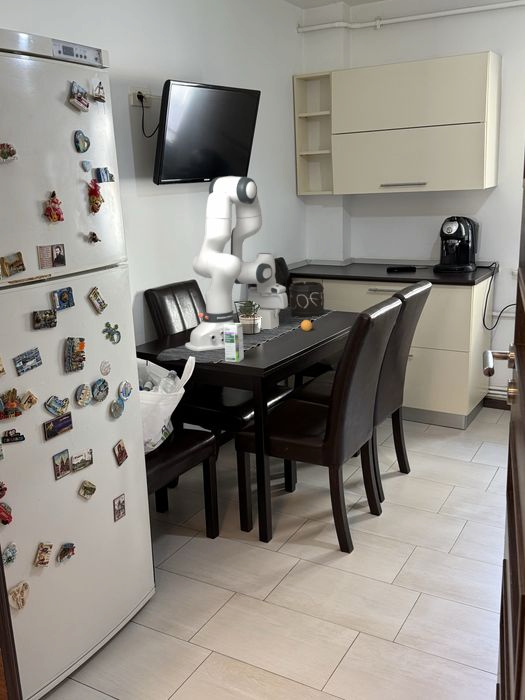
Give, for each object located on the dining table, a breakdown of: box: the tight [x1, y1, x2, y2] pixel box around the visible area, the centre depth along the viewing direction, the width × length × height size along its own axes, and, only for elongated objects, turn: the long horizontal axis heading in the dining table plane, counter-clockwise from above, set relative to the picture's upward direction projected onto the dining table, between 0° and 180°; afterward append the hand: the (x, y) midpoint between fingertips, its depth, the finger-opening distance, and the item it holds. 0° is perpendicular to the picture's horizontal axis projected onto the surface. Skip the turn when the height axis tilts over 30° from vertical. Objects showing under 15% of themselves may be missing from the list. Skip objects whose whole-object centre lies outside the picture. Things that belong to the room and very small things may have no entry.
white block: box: [256, 308, 280, 330], centre depth 317 cm, size 7×7×9 cm
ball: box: [300, 319, 313, 332], centre depth 308 cm, size 5×5×5 cm
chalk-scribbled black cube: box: [288, 281, 325, 318], centre depth 343 cm, size 18×18×16 cm
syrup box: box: [224, 322, 245, 363], centre depth 262 cm, size 6×6×14 cm
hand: (267, 317), depth 317 cm, fingers closed on white block, 7 cm apart
